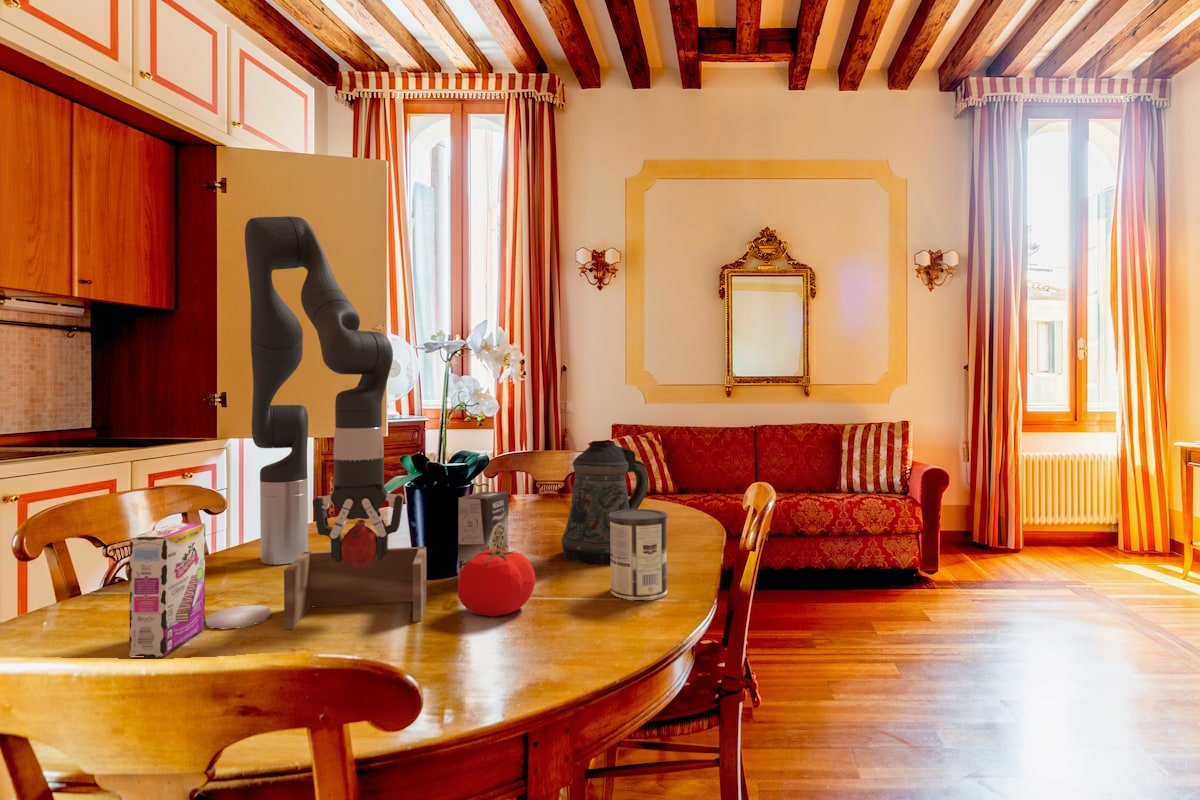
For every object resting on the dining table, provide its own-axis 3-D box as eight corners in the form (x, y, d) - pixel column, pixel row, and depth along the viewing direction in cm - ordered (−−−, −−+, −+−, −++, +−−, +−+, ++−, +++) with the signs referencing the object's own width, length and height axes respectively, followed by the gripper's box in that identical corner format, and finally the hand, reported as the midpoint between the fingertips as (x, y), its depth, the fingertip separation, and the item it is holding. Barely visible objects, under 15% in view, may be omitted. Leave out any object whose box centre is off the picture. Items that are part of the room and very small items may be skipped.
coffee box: (487, 585, 125) (486, 498, 124) (457, 582, 127) (456, 496, 127) (510, 573, 133) (509, 491, 133) (481, 570, 135) (481, 490, 135)
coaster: (218, 611, 110) (218, 607, 110) (277, 608, 112) (277, 603, 112) (196, 631, 101) (196, 625, 101) (260, 627, 103) (260, 621, 103)
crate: (304, 605, 113) (304, 552, 113) (426, 598, 117) (426, 546, 117) (284, 629, 101) (283, 570, 101) (421, 621, 105) (420, 564, 105)
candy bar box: (166, 658, 91) (165, 537, 91) (127, 659, 90) (126, 538, 90) (208, 629, 102) (206, 521, 102) (173, 630, 102) (172, 522, 101)
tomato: (452, 606, 112) (451, 545, 112) (525, 597, 117) (525, 538, 117) (466, 628, 102) (466, 560, 102) (546, 617, 107) (545, 552, 107)
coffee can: (634, 580, 127) (634, 506, 127) (678, 591, 120) (678, 513, 120) (597, 592, 120) (597, 514, 120) (642, 605, 113) (642, 521, 113)
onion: (366, 575, 105) (366, 524, 104) (333, 573, 106) (332, 522, 106) (385, 565, 110) (385, 517, 110) (353, 563, 111) (353, 515, 111)
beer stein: (546, 558, 145) (545, 442, 145) (597, 541, 161) (597, 437, 161) (609, 569, 136) (609, 445, 135) (657, 550, 152) (657, 439, 151)
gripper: (407, 452, 113) (408, 552, 113) (316, 453, 110) (317, 555, 110) (403, 457, 105) (403, 564, 106) (305, 458, 103) (306, 568, 103)
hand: (359, 559), depth 108 cm, fingers closed on onion, 5 cm apart
